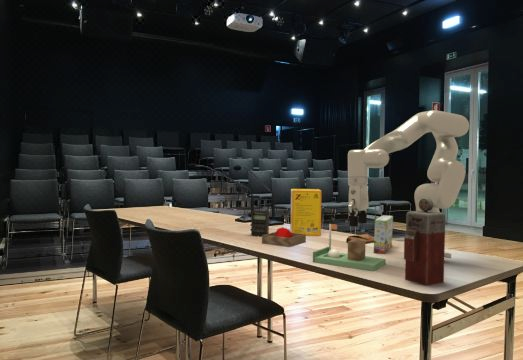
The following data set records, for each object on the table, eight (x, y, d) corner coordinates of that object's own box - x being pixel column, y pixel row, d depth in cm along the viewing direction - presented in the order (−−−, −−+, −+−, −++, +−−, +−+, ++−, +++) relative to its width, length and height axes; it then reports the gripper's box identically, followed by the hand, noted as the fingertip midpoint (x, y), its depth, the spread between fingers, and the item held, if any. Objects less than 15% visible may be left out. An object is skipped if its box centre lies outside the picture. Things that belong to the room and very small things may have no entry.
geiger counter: (248, 236, 232) (249, 208, 231) (251, 234, 236) (251, 207, 235) (267, 237, 228) (267, 209, 228) (269, 236, 233) (270, 208, 232)
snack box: (386, 254, 188) (386, 220, 187) (373, 253, 190) (373, 219, 190) (392, 246, 207) (393, 215, 206) (380, 245, 209) (381, 214, 209)
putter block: (365, 258, 169) (365, 240, 169) (359, 261, 164) (360, 243, 164) (353, 256, 172) (353, 239, 172) (347, 259, 167) (347, 241, 167)
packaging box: (290, 231, 251) (290, 188, 250) (318, 231, 250) (318, 189, 249) (291, 235, 235) (291, 190, 234) (320, 236, 234) (321, 190, 233)
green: (385, 263, 169) (386, 228, 168) (373, 270, 157) (374, 233, 157) (327, 255, 183) (328, 223, 182) (312, 261, 171) (313, 227, 170)
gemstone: (290, 243, 204) (295, 231, 212) (274, 234, 205) (280, 223, 213) (283, 255, 209) (289, 244, 217) (267, 247, 209) (273, 235, 218)
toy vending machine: (399, 280, 145) (401, 198, 144) (421, 276, 151) (423, 197, 150) (421, 286, 137) (423, 200, 136) (444, 282, 143) (446, 198, 142)
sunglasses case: (359, 245, 207) (354, 232, 210) (349, 250, 212) (344, 238, 215) (381, 241, 219) (375, 229, 222) (371, 246, 224) (365, 234, 226)
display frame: (305, 242, 215) (305, 234, 215) (290, 246, 202) (290, 238, 202) (278, 238, 224) (278, 231, 224) (261, 243, 211) (262, 235, 211)
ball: (328, 253, 177) (336, 261, 175) (323, 256, 173) (332, 264, 171) (335, 245, 175) (343, 254, 173) (330, 248, 171) (339, 256, 169)
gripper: (359, 182, 158) (359, 228, 159) (374, 180, 172) (374, 222, 173) (340, 182, 162) (340, 227, 163) (356, 180, 176) (357, 221, 177)
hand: (358, 224), depth 168 cm, fingers open, 9 cm apart
